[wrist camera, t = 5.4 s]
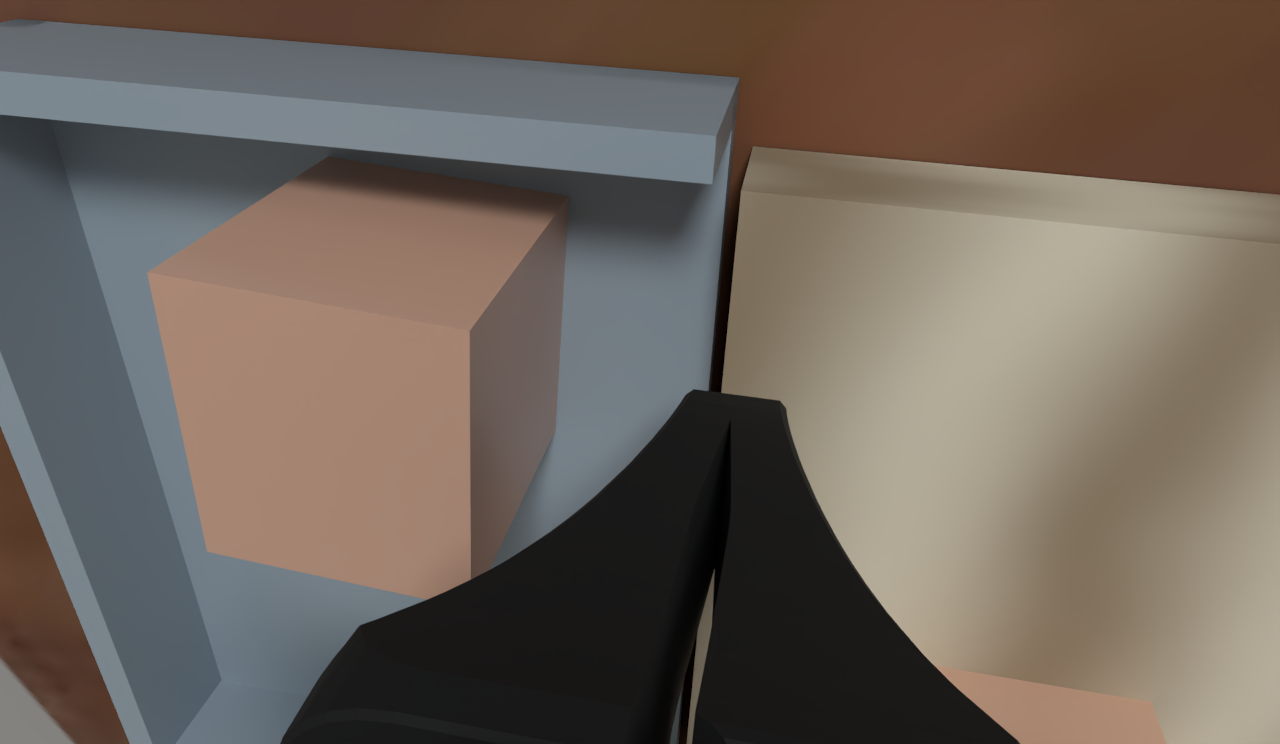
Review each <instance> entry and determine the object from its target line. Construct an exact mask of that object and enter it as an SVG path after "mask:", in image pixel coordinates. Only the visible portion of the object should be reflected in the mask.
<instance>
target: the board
mask: <svg viewBox="0 0 1280 744" xmlns="http://www.w3.org/2000/svg"><path fill="white" fill-rule="evenodd" d="M721 393H726V394H734V395H742V396H749V397H757V398H764V399H772V400H780V401H781V403H782V404H783V405H784V406H785V407H786V409H787V418H788V423H789V427H790V431H791V435H792V438H793V441H794V444H795V447H796V450H797V453H798V456H799V459H800V461H801V464H802V467H803V469H804V472H805V474H806V476H807V478H808V481H809V483H810V485H811V488H812V490H813V492H814V494H815V497H816V499H817V501H818V503H819V505H820V507H821V509H822V511H823V513H824V515H825V517H826V519H827V521H828V522H829V524H830V526H831V528H832V530H833V532H834V534H835V535H836V537H837V539H838V541H839V542H840V544H841V546H842V547H843V549H844V551H845V552H846V554H847V556H848V557H849V559H850V561H851V562H852V564H853V565H854V567H855V568H856V570H857V571H858V573H859V574H860V576H861V577H862V579H863V580H864V581H865V583H866V584H867V586H868V587H869V588H870V590H871V591H872V593H873V594H874V595H875V597H876V598H877V599H878V601H879V602H880V603H881V605H882V606H883V607H884V609H885V610H886V611H887V613H888V614H889V615H890V616H891V617H892V619H893V620H894V621H895V622H896V623H897V624H898V626H899V627H900V628H901V629H902V630H903V631H904V633H905V634H906V635H907V636H908V637H909V638H910V639H911V641H912V642H913V643H914V644H915V645H916V646H917V648H918V649H919V650H920V651H921V652H922V653H923V655H924V656H925V657H926V658H927V659H928V660H929V661H930V662H931V663H932V664H933V665H934V666H939V667H945V668H951V669H957V670H963V671H969V672H975V673H981V674H987V675H993V676H999V677H1005V678H1011V679H1017V680H1023V681H1029V682H1035V683H1041V684H1047V685H1052V686H1058V687H1064V688H1070V689H1076V690H1082V691H1088V692H1094V693H1100V694H1106V695H1112V696H1118V697H1124V698H1130V699H1136V700H1142V701H1148V702H1152V705H1153V708H1154V711H1155V713H1156V716H1157V719H1158V722H1159V724H1160V727H1161V730H1162V733H1163V736H1164V738H1165V741H1166V744H1280V195H1276V194H1265V193H1254V192H1244V191H1233V190H1222V189H1211V188H1200V187H1189V186H1178V185H1167V184H1157V183H1146V182H1135V181H1124V180H1113V179H1102V178H1091V177H1080V176H1069V175H1059V174H1048V173H1037V172H1026V171H1015V170H1004V169H993V168H982V167H971V166H961V165H950V164H939V163H928V162H917V161H906V160H895V159H884V158H874V157H863V156H852V155H841V154H830V153H819V152H808V151H797V150H786V149H776V148H765V147H754V146H753V148H752V152H751V156H750V160H749V163H748V167H747V171H746V174H745V178H744V182H743V186H742V189H741V197H740V207H739V217H738V227H737V237H736V248H735V258H734V268H733V278H732V288H731V298H730V308H729V319H728V329H727V339H726V349H725V359H724V369H723V379H722V390H721ZM714 571H715V568H714ZM713 592H714V572H713V576H712V580H711V583H710V587H709V591H708V594H707V598H706V602H705V605H704V609H703V613H702V616H701V620H700V624H699V627H698V633H697V643H696V653H695V663H694V674H693V684H692V694H691V704H690V714H689V724H688V734H687V744H692V738H693V729H694V719H695V711H696V706H697V701H698V696H699V691H700V686H701V681H702V675H703V670H704V665H705V660H706V655H707V650H708V644H709V639H710V633H711V628H712V613H713Z"/></svg>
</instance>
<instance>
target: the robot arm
mask: <svg viewBox="0 0 1280 744" xmlns="http://www.w3.org/2000/svg"><path fill="white" fill-rule="evenodd" d="M714 568H715V571H714ZM713 572H714V592H713V613H712V628H711V633H710V639H709V644H708V650H707V655H706V660H705V665H704V670H703V675H702V681H701V686H700V691H699V696H698V701H697V706H696V711H695V719H694V729H693V738H692V744H1020V743H1019V741H1018V740H1017V739H1015V738H1014V737H1013V736H1012V735H1011V734H1010V733H1008V732H1007V731H1006V730H1005V729H1004V728H1003V727H1002V726H1000V725H999V724H998V723H997V722H996V721H995V720H993V719H992V718H991V717H990V716H989V715H988V714H986V713H985V712H984V711H983V710H982V709H981V708H979V707H978V706H977V705H976V704H975V703H974V702H972V701H971V700H970V699H969V698H968V697H967V696H966V695H964V694H963V693H962V692H961V691H960V690H959V689H958V688H956V687H955V686H954V685H953V684H952V683H951V682H950V681H949V680H948V679H947V678H946V677H945V676H944V675H943V674H942V673H941V672H940V671H939V670H938V669H937V668H936V667H935V666H934V665H933V664H932V663H931V662H930V661H929V660H928V659H927V658H926V657H925V656H924V655H923V653H922V652H921V651H920V650H919V649H918V648H917V646H916V645H915V644H914V643H913V642H912V641H911V639H910V638H909V637H908V636H907V635H906V634H905V633H904V631H903V630H902V629H901V628H900V627H899V626H898V624H897V623H896V622H895V621H894V620H893V619H892V617H891V616H890V615H889V614H888V613H887V611H886V610H885V609H884V607H883V606H882V605H881V603H880V602H879V601H878V599H877V598H876V597H875V595H874V594H873V593H872V591H871V590H870V588H869V587H868V586H867V584H866V583H865V581H864V580H863V579H862V577H861V576H860V574H859V573H858V571H857V570H856V568H855V567H854V565H853V564H852V562H851V561H850V559H849V557H848V556H847V554H846V552H845V551H844V549H843V547H842V546H841V544H840V542H839V541H838V539H837V537H836V535H835V534H834V532H833V530H832V528H831V526H830V524H829V522H828V521H827V519H826V517H825V515H824V513H823V511H822V509H821V507H820V505H819V503H818V501H817V499H816V497H815V494H814V492H813V490H812V488H811V485H810V483H809V481H808V478H807V476H806V474H805V472H804V469H803V467H802V464H801V461H800V459H799V456H798V453H797V450H796V447H795V444H794V441H793V438H792V435H791V431H790V427H789V423H788V418H787V409H786V407H785V406H784V405H783V404H782V403H781V401H780V400H772V399H764V398H757V397H749V396H742V395H734V394H726V393H719V392H711V391H703V390H696V389H693V390H692V391H690V392H689V393H687V394H686V395H685V396H684V398H683V399H682V401H681V403H680V404H679V405H678V407H677V408H676V410H675V411H674V412H673V414H672V415H671V416H670V418H669V419H668V420H667V422H666V423H665V424H664V425H663V426H662V428H661V429H660V430H659V431H658V432H657V434H656V435H655V436H654V437H653V438H652V439H651V441H650V442H649V443H648V444H647V445H646V446H645V447H644V448H643V449H642V450H641V451H640V453H639V454H638V455H637V456H636V457H635V458H634V459H633V460H632V461H631V462H630V463H629V464H628V465H627V466H626V467H625V468H624V469H623V470H622V471H621V472H620V473H619V474H618V475H617V476H616V477H615V478H614V479H613V480H612V481H611V482H610V483H608V484H607V485H606V486H605V487H604V488H603V489H602V490H601V491H600V492H599V493H598V494H597V495H596V496H595V497H593V498H592V499H591V500H590V501H589V502H588V503H586V504H585V505H584V506H583V507H582V508H580V509H579V510H578V511H577V512H575V513H574V514H573V515H572V516H570V517H569V518H568V519H566V520H565V521H564V522H562V523H561V524H560V525H558V526H557V527H556V528H554V529H553V530H552V531H550V532H549V533H548V534H546V535H545V536H543V537H542V538H540V539H539V540H537V541H536V542H534V543H533V544H531V545H530V546H528V547H526V548H525V549H523V550H522V551H520V552H519V553H517V554H516V555H514V556H513V557H511V558H509V559H508V560H506V561H504V562H503V563H501V564H499V565H498V566H496V567H494V568H492V569H490V570H488V571H486V572H484V573H482V574H481V575H479V576H477V577H475V578H473V579H471V580H469V581H467V582H465V583H463V584H460V585H458V586H456V587H454V588H452V589H450V590H448V591H446V592H444V593H441V594H439V595H437V596H434V597H432V598H430V599H428V600H425V601H423V602H420V603H417V604H415V605H412V606H410V607H407V608H404V609H402V610H399V611H397V612H394V613H392V614H389V615H386V616H384V617H381V618H379V619H376V620H373V621H370V622H368V623H365V624H362V625H360V626H359V627H358V628H357V629H356V630H355V632H354V633H353V634H352V636H351V637H350V638H349V640H348V641H347V642H346V644H345V645H344V646H343V647H342V648H341V650H340V651H339V652H338V653H337V654H336V656H335V657H334V658H333V659H332V661H331V662H330V664H329V665H328V666H327V668H326V669H325V670H324V672H323V673H322V674H321V676H320V677H319V679H318V680H317V682H316V684H315V685H314V687H313V688H312V690H311V692H310V693H309V695H308V697H307V698H306V700H305V702H304V703H303V705H302V706H301V708H300V710H299V711H298V713H297V715H296V716H295V718H294V720H293V721H292V723H291V724H290V726H289V728H288V729H287V731H286V733H285V734H284V736H283V738H282V740H281V743H280V744H670V739H671V733H672V728H673V723H674V719H675V714H676V710H677V705H678V701H679V697H680V693H681V689H682V686H683V682H684V678H685V675H686V671H687V668H688V664H689V660H690V657H691V653H692V649H693V646H694V642H695V638H696V635H697V631H698V627H699V624H700V620H701V616H702V613H703V609H704V605H705V602H706V598H707V594H708V591H709V587H710V583H711V580H712V576H713Z"/></svg>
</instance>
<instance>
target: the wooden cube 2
mask: <svg viewBox="0 0 1280 744" xmlns="http://www.w3.org/2000/svg"><path fill="white" fill-rule="evenodd" d="M935 667H936V668H937V669H938V670H939V671H940V672H941V673H942V674H943V675H944V676H945V677H946V678H947V679H948V680H949V681H950V682H951V683H952V684H953V685H954V686H955V687H956V688H958V689H959V690H960V691H961V692H962V693H963V694H964V695H966V696H967V697H968V698H969V699H970V700H971V701H972V702H974V703H975V704H976V705H977V706H978V707H979V708H981V709H982V710H983V711H984V712H985V713H986V714H988V715H989V716H990V717H991V718H992V719H993V720H995V721H996V722H997V723H998V724H999V725H1000V726H1002V727H1003V728H1004V729H1005V730H1006V731H1007V732H1008V733H1010V734H1011V735H1012V736H1013V737H1014V738H1015V739H1017V740H1018V741H1019V743H1020V744H1166V741H1165V738H1164V736H1163V733H1162V730H1161V727H1160V724H1159V722H1158V719H1157V716H1156V713H1155V711H1154V708H1153V705H1152V702H1148V701H1142V700H1136V699H1130V698H1124V697H1118V696H1112V695H1106V694H1100V693H1094V692H1088V691H1082V690H1076V689H1070V688H1064V687H1058V686H1052V685H1047V684H1041V683H1035V682H1029V681H1023V680H1017V679H1011V678H1005V677H999V676H993V675H987V674H981V673H975V672H969V671H963V670H957V669H951V668H945V667H939V666H935Z"/></svg>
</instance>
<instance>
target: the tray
mask: <svg viewBox="0 0 1280 744" xmlns="http://www.w3.org/2000/svg"><path fill="white" fill-rule="evenodd" d="M738 89H739V78H737V77H725V76H712V75H700V74H688V73H676V72H663V71H651V70H639V69H626V68H614V67H602V66H590V65H577V64H565V63H553V62H540V61H528V60H516V59H503V58H491V57H479V56H467V55H454V54H442V53H430V52H417V51H405V50H393V49H381V48H368V47H356V46H344V45H331V44H319V43H307V42H294V41H282V40H270V39H258V38H245V37H233V36H221V35H208V34H196V33H184V32H172V31H159V30H147V29H135V28H122V27H110V26H98V25H85V24H73V23H61V22H49V21H36V20H24V19H15V20H11V21H6V22H2V23H0V426H1V429H2V431H3V434H4V436H5V439H6V441H7V443H8V446H9V448H10V451H11V453H12V456H13V458H14V461H15V463H16V466H17V468H18V470H19V473H20V475H21V478H22V480H23V483H24V485H25V488H26V490H27V493H28V495H29V497H30V500H31V502H32V505H33V507H34V510H35V512H36V515H37V517H38V520H39V522H40V524H41V527H42V529H43V532H44V534H45V537H46V539H47V542H48V544H49V547H50V549H51V551H52V554H53V556H54V559H55V561H56V564H57V566H58V569H59V571H60V574H61V576H62V578H63V581H64V583H65V586H66V588H67V591H68V593H69V596H70V598H71V600H72V603H73V605H74V608H75V610H76V613H77V615H78V618H79V620H80V623H81V625H82V627H83V630H84V632H85V635H86V637H87V640H88V642H89V645H90V647H91V650H92V652H93V654H94V657H95V659H96V662H97V664H98V667H99V669H100V672H101V674H102V677H103V679H104V681H105V684H106V686H107V689H108V691H109V694H110V696H111V699H112V701H113V704H114V706H115V708H116V711H117V713H118V716H119V718H120V721H121V723H122V726H123V728H124V730H125V733H126V735H127V738H128V740H129V743H130V744H280V743H281V740H282V738H283V736H284V734H285V733H286V731H287V729H288V728H289V726H290V724H291V723H292V721H293V720H294V718H295V716H296V715H297V713H298V711H299V710H300V708H301V706H302V705H303V703H304V702H305V700H306V698H307V697H308V695H309V693H310V692H311V690H312V688H313V687H314V685H315V684H316V682H317V680H318V679H319V677H320V676H321V674H322V673H323V672H324V670H325V669H326V668H327V666H328V665H329V664H330V662H331V661H332V659H333V658H334V657H335V656H336V654H337V653H338V652H339V651H340V650H341V648H342V647H343V646H344V645H345V644H346V642H347V641H348V640H349V638H350V637H351V636H352V634H353V633H354V632H355V630H356V629H357V628H358V627H359V626H360V625H362V624H365V623H368V622H370V621H373V620H376V619H379V618H381V617H384V616H386V615H389V614H392V613H394V612H397V611H399V610H402V609H404V608H407V607H410V606H412V605H415V604H417V603H420V602H423V601H425V600H427V599H423V598H418V597H413V596H409V595H404V594H400V593H395V592H390V591H386V590H381V589H376V588H372V587H367V586H363V585H358V584H353V583H349V582H344V581H340V580H335V579H330V578H326V577H321V576H316V575H312V574H307V573H303V572H298V571H293V570H289V569H284V568H280V567H275V566H270V565H266V564H261V563H256V562H252V561H247V560H243V559H238V558H233V557H229V556H224V555H220V554H215V553H210V552H207V549H206V544H205V540H204V535H203V530H202V526H201V521H200V516H199V512H198V507H197V502H196V498H195V493H194V488H193V484H192V479H191V474H190V470H189V465H188V460H187V456H186V451H185V447H184V442H183V437H182V433H181V428H180V423H179V419H178V414H177V409H176V405H175V400H174V395H173V391H172V386H171V381H170V377H169V372H168V367H167V363H166V358H165V353H164V349H163V344H162V339H161V335H160V330H159V325H158V321H157V316H156V312H155V307H154V302H153V298H152V293H151V288H150V284H149V279H148V274H147V272H148V271H150V270H152V269H153V268H155V267H156V266H158V265H159V264H161V263H162V262H164V261H166V260H167V259H169V258H170V257H172V256H173V255H175V254H177V253H178V252H180V251H181V250H183V249H184V248H186V247H187V246H189V245H191V244H192V243H194V242H195V241H197V240H198V239H200V238H202V237H203V236H205V235H206V234H208V233H209V232H211V231H212V230H214V229H216V228H217V227H219V226H220V225H222V224H223V223H225V222H227V221H228V220H230V219H231V218H233V217H234V216H236V215H237V214H239V213H241V212H242V211H244V210H245V209H247V208H248V207H250V206H252V205H253V204H255V203H256V202H258V201H259V200H261V199H262V198H264V197H266V196H267V195H269V194H270V193H272V192H273V191H275V190H277V189H278V188H280V187H281V186H283V185H284V184H286V183H287V182H289V181H291V180H292V179H294V178H295V177H297V176H298V175H300V174H302V173H303V172H305V171H306V170H308V169H309V168H311V167H312V166H314V165H316V164H317V163H319V162H320V161H322V160H323V159H325V158H327V157H334V158H340V159H346V160H352V161H358V162H365V163H371V164H377V165H383V166H389V167H395V168H401V169H408V170H414V171H420V172H426V173H432V174H438V175H444V176H450V177H457V178H463V179H469V180H475V181H481V182H487V183H493V184H500V185H506V186H512V187H518V188H524V189H530V190H536V191H543V192H549V193H555V194H561V195H567V196H569V207H568V225H567V242H566V259H565V277H564V294H563V312H562V329H561V346H560V364H559V381H558V399H557V416H556V430H555V432H554V434H553V436H552V438H551V440H550V443H549V445H548V447H547V449H546V451H545V453H544V455H543V457H542V459H541V462H540V464H539V466H538V468H537V470H536V472H535V474H534V476H533V479H532V481H531V483H530V485H529V487H528V489H527V491H526V493H525V496H524V498H523V500H522V502H521V504H520V506H519V508H518V510H517V512H516V515H515V517H514V519H513V521H512V523H511V525H510V527H509V529H508V532H507V534H506V536H505V538H504V540H503V542H502V544H501V546H500V548H499V551H498V553H497V555H496V557H495V559H494V561H493V563H492V565H491V568H490V569H492V568H494V567H496V566H498V565H499V564H501V563H503V562H504V561H506V560H508V559H509V558H511V557H513V556H514V555H516V554H517V553H519V552H520V551H522V550H523V549H525V548H526V547H528V546H530V545H531V544H533V543H534V542H536V541H537V540H539V539H540V538H542V537H543V536H545V535H546V534H548V533H549V532H550V531H552V530H553V529H554V528H556V527H557V526H558V525H560V524H561V523H562V522H564V521H565V520H566V519H568V518H569V517H570V516H572V515H573V514H574V513H575V512H577V511H578V510H579V509H580V508H582V507H583V506H584V505H585V504H586V503H588V502H589V501H590V500H591V499H592V498H593V497H595V496H596V495H597V494H598V493H599V492H600V491H601V490H602V489H603V488H604V487H605V486H606V485H607V484H608V483H610V482H611V481H612V480H613V479H614V478H615V477H616V476H617V475H618V474H619V473H620V472H621V471H622V470H623V469H624V468H625V467H626V466H627V465H628V464H629V463H630V462H631V461H632V460H633V459H634V458H635V457H636V456H637V455H638V454H639V453H640V451H641V450H642V449H643V448H644V447H645V446H646V445H647V444H648V443H649V442H650V441H651V439H652V438H653V437H654V436H655V435H656V434H657V432H658V431H659V430H660V429H661V428H662V426H663V425H664V424H665V423H666V422H667V420H668V419H669V418H670V416H671V415H672V414H673V412H674V411H675V410H676V408H677V407H678V405H679V404H680V403H681V401H682V399H683V398H684V396H685V395H686V394H687V393H689V392H690V391H692V390H693V389H696V390H703V391H711V385H712V374H713V363H714V352H715V341H716V330H717V319H718V308H719V297H720V286H721V275H722V264H723V253H724V242H725V232H726V221H727V210H728V199H729V188H730V177H731V166H732V155H733V144H734V133H735V122H736V111H737V100H738ZM684 680H685V678H684ZM683 691H684V682H683V686H682V689H681V693H680V697H679V701H678V705H677V710H676V714H675V719H674V723H673V728H672V733H671V739H670V744H679V735H680V724H681V713H682V702H683Z"/></svg>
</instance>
